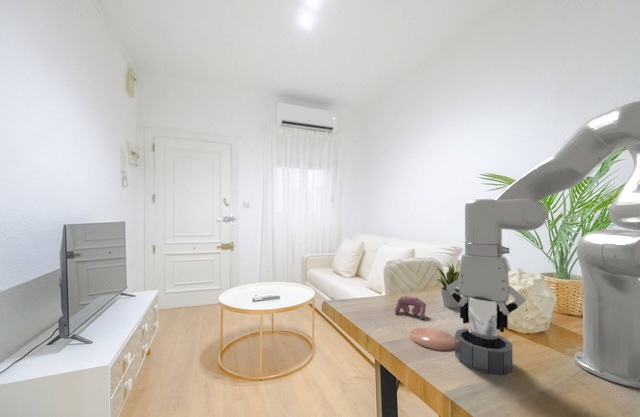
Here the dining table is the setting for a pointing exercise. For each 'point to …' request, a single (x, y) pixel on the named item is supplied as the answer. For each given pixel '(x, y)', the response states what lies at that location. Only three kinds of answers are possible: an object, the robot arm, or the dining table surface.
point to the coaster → (433, 339)
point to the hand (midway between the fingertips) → (483, 325)
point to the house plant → (446, 296)
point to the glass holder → (484, 355)
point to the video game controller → (412, 301)
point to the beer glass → (483, 322)
